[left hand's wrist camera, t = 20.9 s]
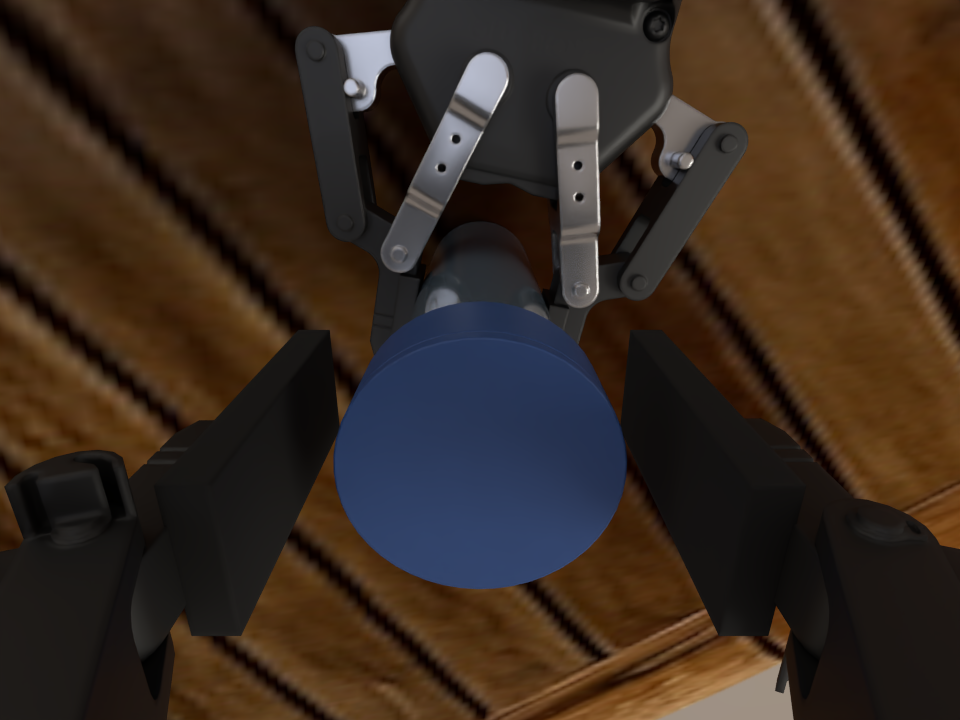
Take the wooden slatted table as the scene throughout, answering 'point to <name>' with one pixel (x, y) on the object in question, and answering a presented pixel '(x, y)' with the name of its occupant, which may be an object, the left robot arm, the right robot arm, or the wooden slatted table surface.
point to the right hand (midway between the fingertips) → (466, 377)
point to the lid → (480, 448)
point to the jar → (480, 271)
